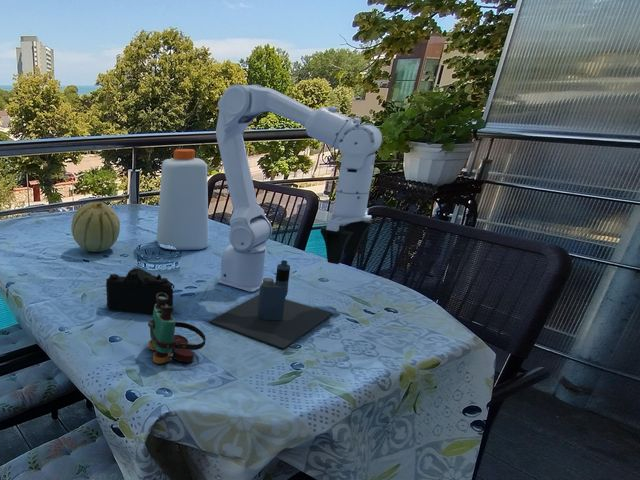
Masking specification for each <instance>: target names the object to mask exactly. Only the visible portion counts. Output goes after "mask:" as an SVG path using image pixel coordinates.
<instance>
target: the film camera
mask: <svg viewBox="0 0 640 480" xmlns="http://www.w3.org/2000/svg"><path fill="white" fill-rule="evenodd" d="M105 281H106V282H105V289H106V290H105V291H106V292H105V293H106V306H107V307H106V308H107V309H108V310H109V311H117V312H125V313H135V314H143V315H153V311H154V306H155V304H157V300H156V295H157V294H158V293H161V292H162V293H166V294H167V295H168V297H169V298H168V301H167V302H166V304H167V305H168V306H173V307H174V289H175V285H174V284H173V283H172V282H171V281H170V280H169V279H168V278H166V277H162V276H161V274H157V276H156V275H154V274H151V273H150V272H148V271H146V270H144V269H142V268H137V267H133V268H132V269H130V270H129V271H128V272H127V273H126V275H125V276H123V275H122V276H121V275H119V274H117V273H111V274H109V277H108V278H106V280H105Z"/></svg>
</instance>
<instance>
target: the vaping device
mask: <svg viewBox="0 0 640 480" xmlns="http://www.w3.org/2000/svg"><path fill="white" fill-rule="evenodd" d="M290 272H291V265H290V264H288V260H286V259H285V260H281V262H280V263H279V264H277V266H276V275H275V280H274V279H273V278H271V277H263V283H262V284H261V286H260V289H259V292H258V295H259V302H258V312H257V314H258V317H259V318H260V319H263V320H283V312H284V304H285V299H286V297H287V296H288V293H289V281H290ZM274 281H275V282H274Z"/></svg>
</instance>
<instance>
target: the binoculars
mask: <svg viewBox="0 0 640 480" xmlns="http://www.w3.org/2000/svg"><path fill="white" fill-rule="evenodd" d="M168 298H169V297H168V295H167V294H166V293H162V292H161V293H158V294H157V295H156V300H157V304H155V306H154V311H153V314H152V317H151V319H150V320H148V322H147V326H148V328H149V332H150V334H149V337H150V340H149V341H148V349H149V350H151V351H155V352H153V354H152V361H153V363H155V364H159V365H160V364H165V363H167V362H168V361H170V359H172V360H176V361H180V362H183V363H191V362H193V361H194V357H195V352H194V351H197V350H202V349H203V347H204V346H205V345H206V341H207V338H206V334H205V333H204V332H203V331H202V330H201V329H200V328H198V327H197V326H195V325H193V324H190V323H186V322H182V321H176V319H175V318H174V317H173V316H172V313H173V312H174V308H175V306H174V305H173V306H168V305H167V304H166V302H167V301H168ZM176 328H183V329H186V330H189V331H191V332H194V333H195V334H196V335H198V336H199V337H200V338H201V339H202V340H203V341H202V342H201V343H197V344H195V343H189V340H188V338H186V337H185V336H184V335H180V334H175V332H176ZM171 353H172V356H171Z"/></svg>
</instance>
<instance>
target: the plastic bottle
mask: <svg viewBox="0 0 640 480" xmlns="http://www.w3.org/2000/svg"><path fill="white" fill-rule="evenodd" d="M208 186H209V185H208V163H207V162H205V160H204V159H202V158H197V157H196V150H195V149H192V148H181V149H180V148H179V149H178V148H177V149H174V150H173V158H166V159H164V160H163V161H162V163H161V173H160V188H159V199H158V200H159V201H158V213H157V225H156V240H157V241H156V242H157V245H159V244H163V245H170V246H173V247H175V248H176V249H177V250H176V251H199V250H203V249H206V248H207V247H208V246H209V243H210V240H209V239H210V238H209V235H210V234H209V233H210V232H209V196H208V194H209V191H208Z"/></svg>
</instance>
